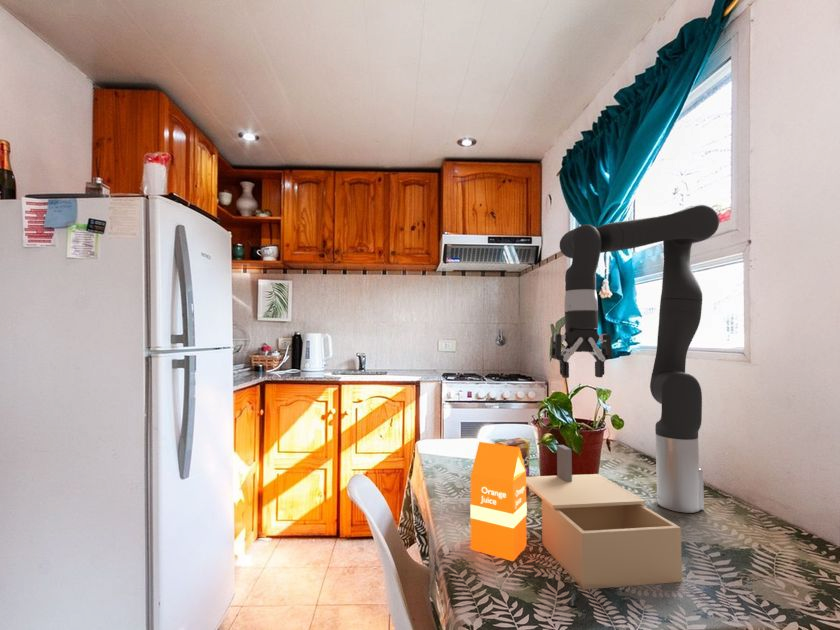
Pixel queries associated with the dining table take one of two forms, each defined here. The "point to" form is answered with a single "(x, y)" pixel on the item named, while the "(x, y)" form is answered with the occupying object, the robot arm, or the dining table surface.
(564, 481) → the carton lid
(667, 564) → the carton
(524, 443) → the candy box
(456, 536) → the dining table surface
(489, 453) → the orange juice
